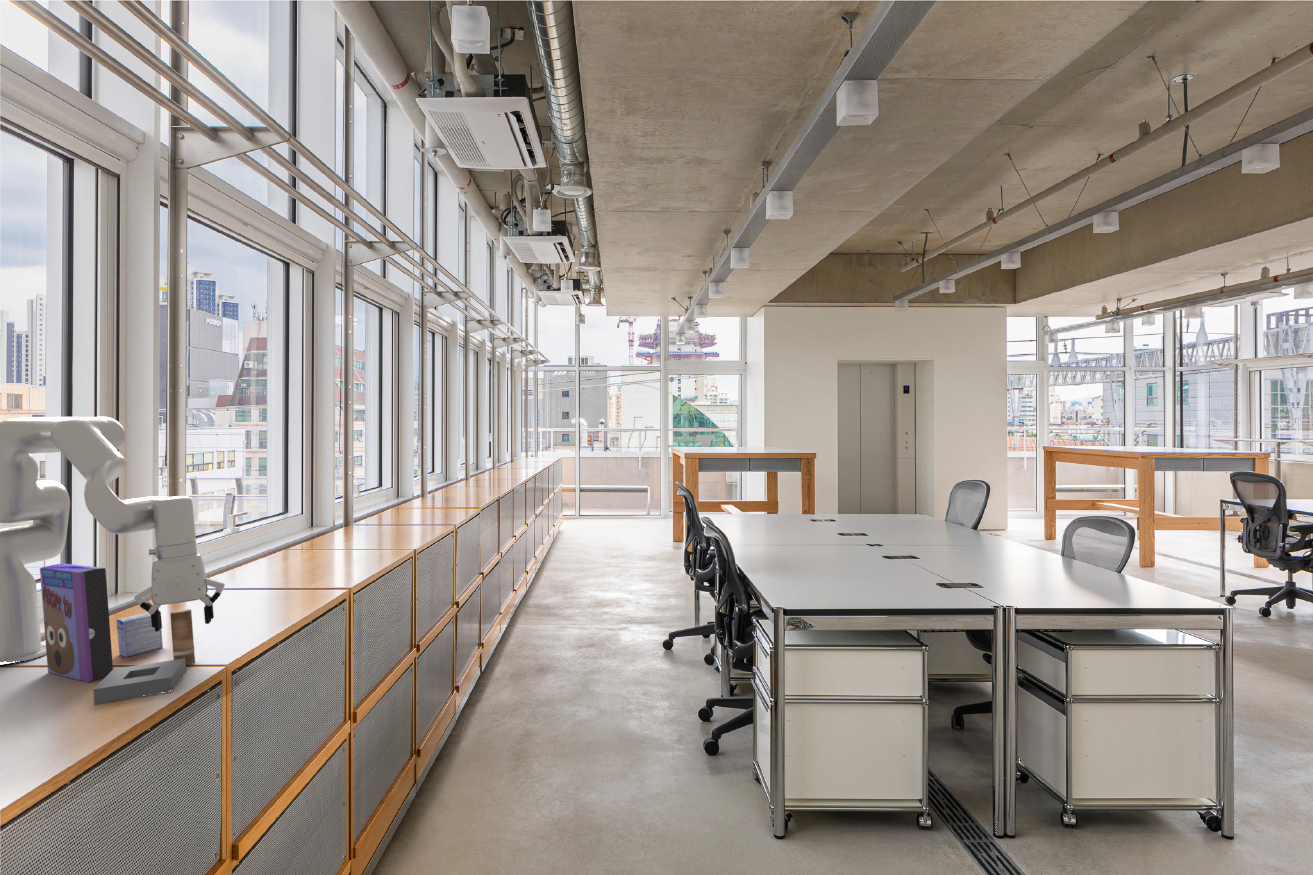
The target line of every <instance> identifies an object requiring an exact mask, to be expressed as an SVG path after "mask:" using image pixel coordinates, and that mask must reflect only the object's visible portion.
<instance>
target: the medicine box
mask: <svg viewBox="0 0 1313 875" xmlns="http://www.w3.org/2000/svg"><path fill="white" fill-rule="evenodd" d="M116 630H117V631H116V632H117V640H118V641H117V642H118V653H119V655H120V656H122V657H125V658H127V657H130V656H131V657H132V656H136V655H139V654H143V653H147V652H151V651H154V650H159V649H161V648H163V647H164V646H163V645H164V642H163V632H162V628H161V629H160V630H159V631H157V632H155V627H153V628H152V623H151V614H149V613H148V612H145V613H138V614H134V615H130V616H127V617H123V618H118V619H116Z"/></svg>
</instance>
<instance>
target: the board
mask: <svg viewBox="0 0 1313 875" xmlns="http://www.w3.org/2000/svg"><path fill="white" fill-rule="evenodd" d="M185 672H186V673H187V666H186V661H185V658H183V659H176V660H174V659H171V660H170V659H169V660H164V661H163V660H162V661H158V662H151V663H145V664H137V665H130V666H124V667H117V668H113V670H112V671H111V672H110V673H109V674H108V675H107V676H106V677H105V678H104V679H101V680H100V682H99V683H98V684H97V685H96V686H95V687H94V688H93V702H94V705H98V704H105V703H111V702H118V701H124V700H130V699H135V698H134V697H137V698H142V697H141V696H143V695H149V694H155V695H158V694H157V693H161V692H167V693H169V692H168V691H170V690H171V691H172V690H173V689H174V688H175V689H176V687H177V686H178V684H179V683H180V682H181V680H182V679H181V678H183V677H184V676H185V674H186V673H185ZM183 675H184V676H183ZM180 679H181V680H180ZM178 682H179V683H178ZM177 683H178V684H177ZM176 685H177V686H176ZM175 686H176V687H175ZM175 689H174V690H175ZM174 690H173V691H174ZM161 694H162V693H161ZM149 696H150V695H149ZM143 697H144V696H143Z"/></svg>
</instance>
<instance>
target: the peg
mask: <svg viewBox="0 0 1313 875" xmlns="http://www.w3.org/2000/svg"><path fill="white" fill-rule="evenodd" d="M169 615H170V617H169V618H170V625H171V626H170V627H171V642H172V656H173V660H176V659H183V658H185V661H186V665H188V666H191V665H193V664H192V663H194V662H195V663H196V656H195V655H196V654H195V645H194V644H195V643H194V640H195V639H194V630H193V629H194V628H193V616H192V615H193V614H192V609H191V608H185V609H178V610H175V611H174V610H173V611H171V612H170V613H169ZM195 663H194V664H195ZM190 664H191V665H190Z"/></svg>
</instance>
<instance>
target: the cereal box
mask: <svg viewBox="0 0 1313 875" xmlns="http://www.w3.org/2000/svg"><path fill="white" fill-rule="evenodd" d="M39 576H40V589H41V590H40V591H41V600H42V601H41V602H42V612H43V613H42V614H43V624H44V628H43V629H44V639H45V645H46V653H47V654H46V663H47V672H48V674H50V675H54V676H59V677H61V678H62V677H63V678H65V679H71V680H74V681H78V682H82V683H86V684H91V683H94V682H97V681H102V680H103V679H104V678H105V677H106V676H107V675H108V674H109V673H110V672H111V671H112V670H113V669H114V665H113V662H114V661H113V651H112V650H113V649H112V640H111V639H112V638H111V623H110V612H109V611H110V609H109V599H108V586H107V585H108V583H107V572H106V567H99V566H89V565H83V564H82V565H81V564H71V563H56V564H49V565H46V566H42V567H39Z"/></svg>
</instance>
